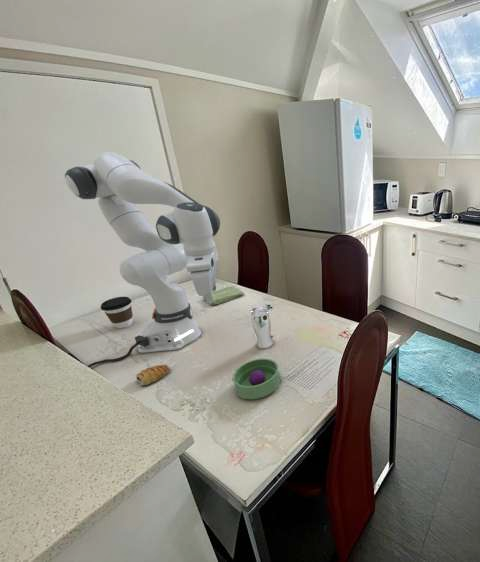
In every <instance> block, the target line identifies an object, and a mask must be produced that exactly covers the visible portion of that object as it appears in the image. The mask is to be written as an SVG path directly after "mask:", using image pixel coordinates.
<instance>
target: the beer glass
mask: <svg viewBox="0 0 480 562" xmlns="http://www.w3.org/2000/svg"><path fill="white" fill-rule="evenodd" d="M250 320H251V321H250V322H251V325H252V328H253V329H252V330H253V331H254V334H255V336H256V339H257V344H256V346H257V348H259V349H268V348H270V347H271V346H273V344H274V341H273V338H272V320H271V315H270V312H269V309H268V308H266V307H259V308H255V309H253V310H252V311H250Z"/></svg>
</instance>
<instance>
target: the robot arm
mask: <svg viewBox="0 0 480 562" xmlns="http://www.w3.org/2000/svg"><path fill="white" fill-rule="evenodd" d="M64 178H65V183H66V186H67V188H68V189H69V190H70V191H71V192H72V193H73V194H74V195H75V196H76V197H78V198H79V199H81V200H95V199H98V200H97V204H98V207H99V209H100V211H101V213H102V215H103V217H104V219H105V220H106V221H107V223H108V224H109V225H110V228H111V229H112V230H113V231H114V233H116V235H117V237H118V238H119V239H120V241H121V242H122V243H123V244H125V245H126V246H130V247H133V248H139V249H141V250H144V251H143V252H140V253H136V254H134V255H131V256H130V257H128V258H126V259H124V260H122V261H121V262H120V265H119V273H120V276H121V278H122V279H123V280H124V281H125V282H127V283H128V284H130V285H133V286H137V287H140V288H141V289H143V290H145V291H146V292H147V293H148V294H149V295H150V297H151V299H152V301H153V304H154V306H155V307H154V309H153V312H152V316H151V319H152V321H151V322H150V323H149V324H148V325H147V326H146V327H145V328H144V330H143V331H142V335H140V334H139V335H136V336H135V337H133V338H134V340H135V343H134V344H133V345H132V346H131V347H130V348H129V349H128V351H127V353H126V354H124V355H122V356H120V357H116V358H106V359H102V360H98V361H94V362H92V363H90V364H88V365H87V366H88V367H90V368H91V367H93V366H96V365H100V364H103V363H108V362H109V363H111V362H117V361H122V360H124V359H125V358H127V357H129V356H130V355H131V354H132V352H133V350H134V349H135V348H136V347H137V350H138V353H139V354H145V353H153V352H154V353H157V352H165V351H166V352H167V351H176V350H181V349H182V348H183V347H185V346H186V345H189V344H190V343H192V342H194V341H196V340H197V339H198V338H199V337H200V336H201V334H202V330H201V329H200V327H199V326H198V324H197V323H196V320H195V318H194V311H193V309H192V307H191V303H190V302H189V299H188V297H187V293H186V290H185V288H184V287H183V286H182V285H181V284H179V283H175V282H169V280H168V277H169V276H171V275H173V274H176V273H179V272H182V271H183V270H185V269H186V271H187V273H190V277H191V281H192V284H193V286H194V289H195V292H196V294H197V295H198V296H199V297H203V296H204V297H205V299H206V300H205V299H204V300H205V302H206V304H208V305H209V304H210V303H213V296H212V294H211V293H212V292H214V291H217V285H216V278H217V275H218V268H217V262H219V261H220V260H219V259H220V257H219V254H218V249H217V244H216V242H215V240H214V237H216V235H217V234H218V232H219V230H220V228H221V219H220V217H219V215H218V214H217V212H215V211H214V210H213V209H212V208H210V207H209V206H207V205H204V204H201V203H199V202H198V201H196V200H195V199H194V198H191V197H190V196H189V195H188V194H186V193H184V192H183V191H182V190H180V189H178V188H177V187H175V186H174V185H172V184H170V183H168V182H165V181H164V180H161V179H158V178H156V177H155V176H153V175H151V174H149V173H147V172H145V171H144V170H143V169H142V168H141V167H140V165H138V164H137V163H136V162H135V161H134V160H131V159H128V158H126V157H125V156H124V155H121V154H120V153H117V152H114V151H105V152H101V153H99V154H98V155H97V156H95V158H94V160H93V163H89V164H86V165H82V166H74V167H72V168H69V169H67V170H66V171H65V173H64ZM138 205H165V206H168V207H171V208H174V209H173V210H172V211H170V212H167V213H164V214H161V215H159V217H158V218H157V220H156V222H155V227H154V226H153V224H152V223H151V222H150V221H149V220H148V219H147V217H146V216H145V215H144V213H143V212H142V210H141V209H140V207H138ZM210 305H211V304H210Z"/></svg>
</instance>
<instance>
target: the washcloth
mask: <svg viewBox="0 0 480 562" xmlns="http://www.w3.org/2000/svg"><path fill="white" fill-rule="evenodd" d="M211 294H212V296H213V303H210V305H211V306H216V305H219V304H222V303H227V302H229V301H232V300H234V299H237V298H239V297H242V296H243V295H245V293H244V291H242V290H241V289H240V288H239V287H237V286H236V285H231V286H226V287H223V288H221V289H218V290H216V291H212V293H211ZM202 299H203V300H205V301H206V299H205V297H204V296H202Z"/></svg>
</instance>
